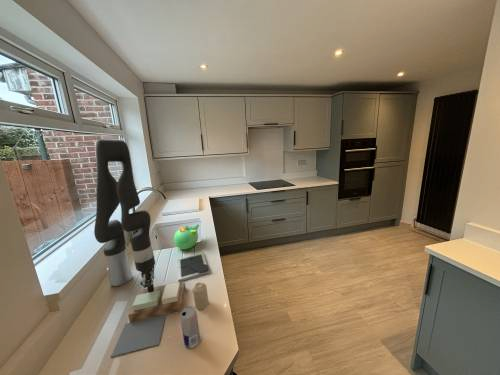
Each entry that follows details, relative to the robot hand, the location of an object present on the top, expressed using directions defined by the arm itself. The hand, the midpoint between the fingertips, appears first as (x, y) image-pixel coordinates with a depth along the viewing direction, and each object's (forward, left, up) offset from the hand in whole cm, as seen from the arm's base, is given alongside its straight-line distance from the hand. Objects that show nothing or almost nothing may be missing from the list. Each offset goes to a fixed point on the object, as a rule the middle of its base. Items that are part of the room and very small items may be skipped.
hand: (151, 291), depth 89 cm
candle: (+22, -9, -5) cm, 24 cm away
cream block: (+9, -4, -1) cm, 10 cm away
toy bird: (+12, +47, -5) cm, 48 cm away
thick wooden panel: (+4, -3, -5) cm, 7 cm away
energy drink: (+19, -25, -5) cm, 32 cm away
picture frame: (+16, +21, -6) cm, 27 cm away
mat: (0, -17, -5) cm, 17 cm away
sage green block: (0, -6, -1) cm, 6 cm away
